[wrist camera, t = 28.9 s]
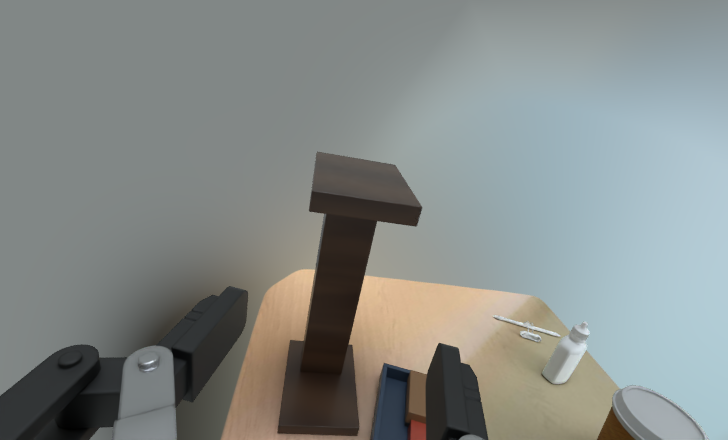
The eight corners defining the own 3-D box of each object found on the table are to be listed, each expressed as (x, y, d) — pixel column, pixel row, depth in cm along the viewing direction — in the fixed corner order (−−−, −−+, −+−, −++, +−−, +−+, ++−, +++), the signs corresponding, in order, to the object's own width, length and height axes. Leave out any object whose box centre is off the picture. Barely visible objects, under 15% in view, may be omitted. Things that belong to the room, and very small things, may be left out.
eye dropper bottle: (577, 388, 59) (610, 335, 54) (546, 383, 58) (577, 329, 53) (563, 368, 63) (593, 316, 58) (534, 363, 62) (562, 311, 57)
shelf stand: (357, 435, 43) (422, 207, 31) (277, 433, 42) (311, 190, 29) (350, 351, 56) (395, 164, 43) (289, 347, 54) (316, 151, 42)
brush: (430, 525, 36) (438, 509, 34) (397, 515, 36) (404, 499, 35) (428, 390, 51) (433, 376, 50) (405, 384, 51) (410, 369, 50)
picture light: (559, 336, 71) (563, 328, 70) (565, 350, 67) (570, 342, 66) (491, 316, 73) (495, 308, 72) (494, 329, 69) (498, 321, 68)
